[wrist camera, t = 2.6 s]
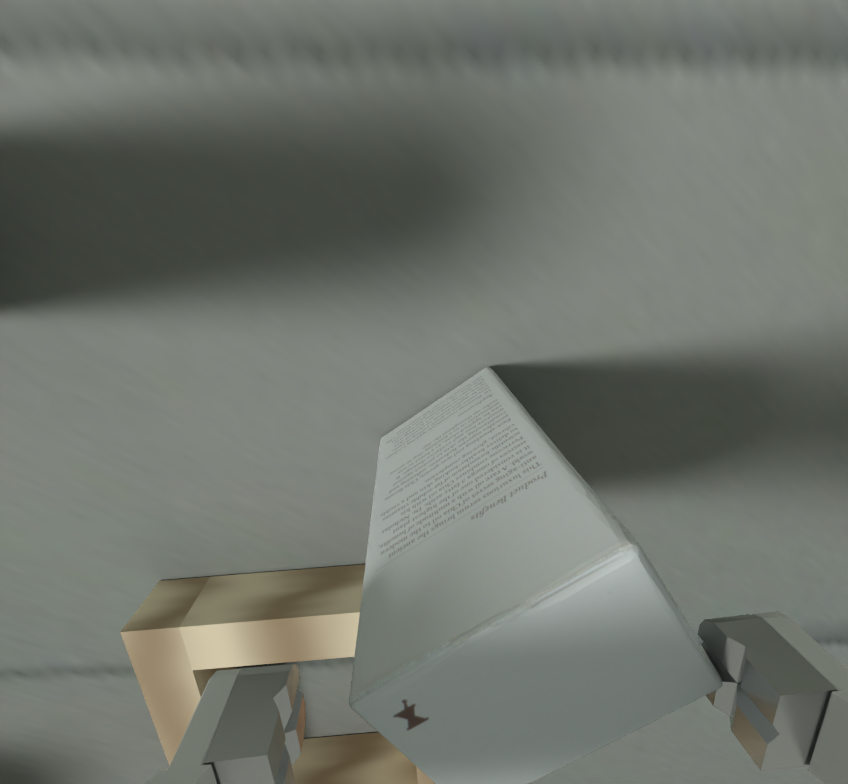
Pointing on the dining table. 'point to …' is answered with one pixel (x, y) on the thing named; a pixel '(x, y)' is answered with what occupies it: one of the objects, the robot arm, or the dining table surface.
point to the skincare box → (507, 602)
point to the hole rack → (257, 656)
